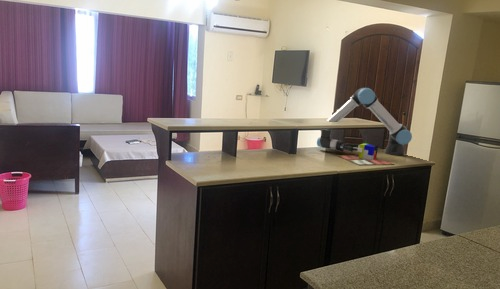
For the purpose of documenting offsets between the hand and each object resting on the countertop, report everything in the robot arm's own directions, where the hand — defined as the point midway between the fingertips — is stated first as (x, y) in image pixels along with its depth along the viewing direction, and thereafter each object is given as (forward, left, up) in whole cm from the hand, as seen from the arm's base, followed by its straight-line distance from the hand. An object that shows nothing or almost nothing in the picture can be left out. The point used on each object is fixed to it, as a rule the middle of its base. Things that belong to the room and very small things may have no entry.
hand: (364, 149), depth 290 cm
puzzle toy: (-2, +2, -7) cm, 7 cm away
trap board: (+5, +9, -6) cm, 12 cm away
